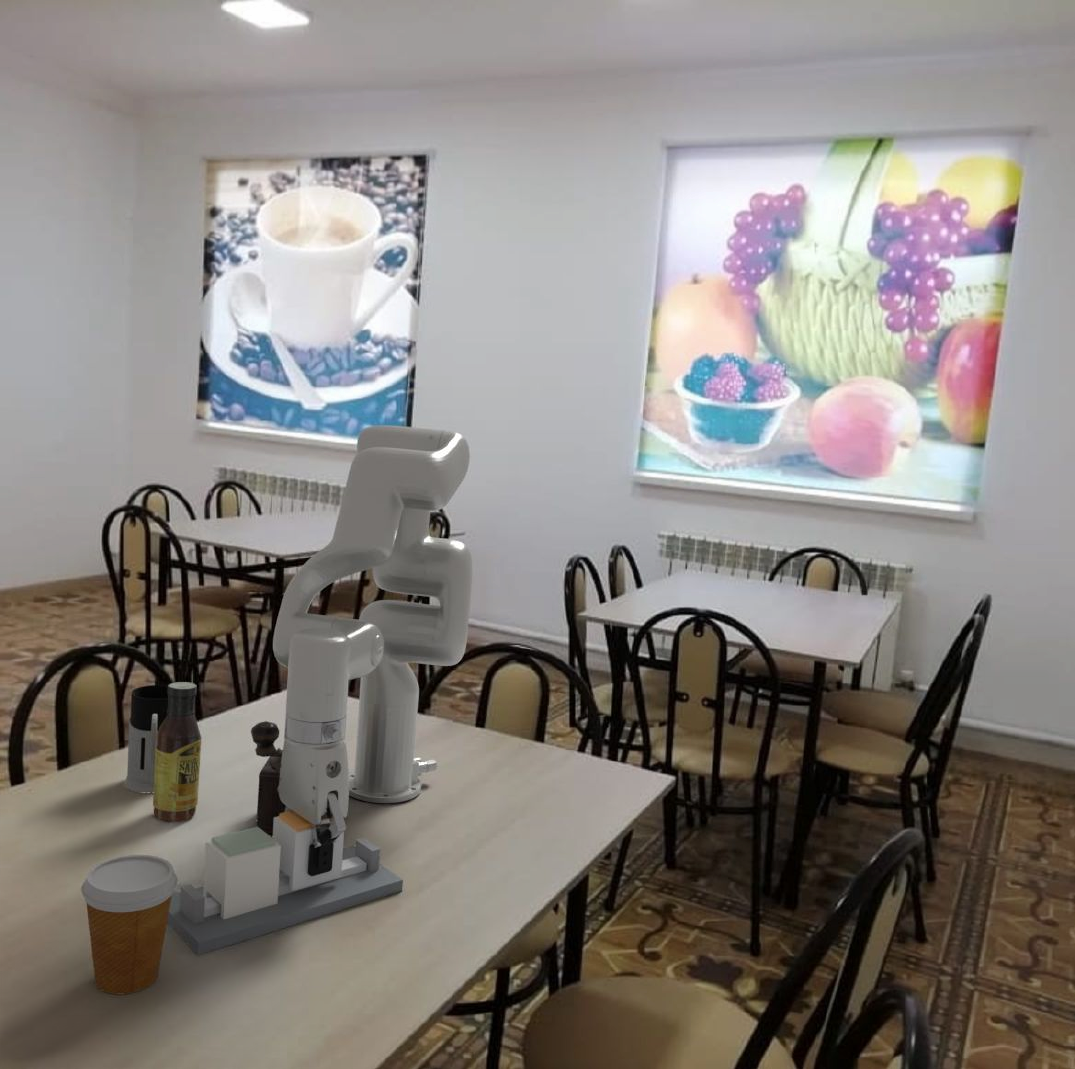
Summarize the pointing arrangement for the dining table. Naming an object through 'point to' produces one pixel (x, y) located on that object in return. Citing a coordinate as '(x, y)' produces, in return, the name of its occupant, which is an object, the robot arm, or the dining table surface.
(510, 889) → the dining table surface
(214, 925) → the rail board
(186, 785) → the sauce bottle
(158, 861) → the disposable coffee cup
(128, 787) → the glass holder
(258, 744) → the pepper mill
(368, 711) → the robot arm
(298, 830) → the module
